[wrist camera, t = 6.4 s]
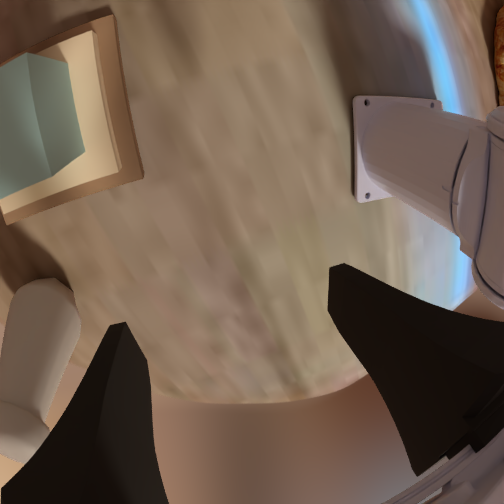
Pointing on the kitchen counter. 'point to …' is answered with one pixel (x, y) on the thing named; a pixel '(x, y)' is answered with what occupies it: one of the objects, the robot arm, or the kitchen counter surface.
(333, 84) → the kitchen counter surface
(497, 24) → the croissant
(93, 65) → the wooden base
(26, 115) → the teal block
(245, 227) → the kitchen counter surface
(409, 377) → the robot arm
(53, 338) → the salt shaker
